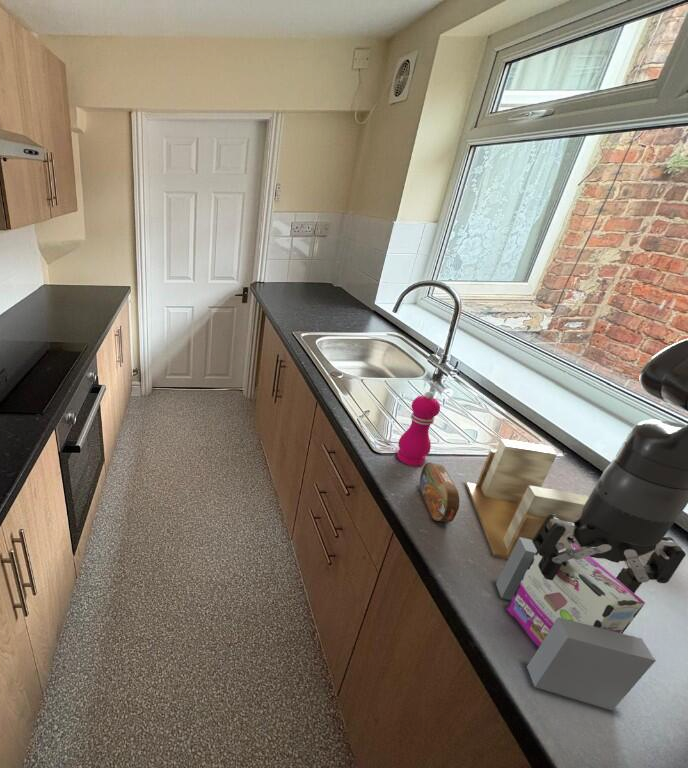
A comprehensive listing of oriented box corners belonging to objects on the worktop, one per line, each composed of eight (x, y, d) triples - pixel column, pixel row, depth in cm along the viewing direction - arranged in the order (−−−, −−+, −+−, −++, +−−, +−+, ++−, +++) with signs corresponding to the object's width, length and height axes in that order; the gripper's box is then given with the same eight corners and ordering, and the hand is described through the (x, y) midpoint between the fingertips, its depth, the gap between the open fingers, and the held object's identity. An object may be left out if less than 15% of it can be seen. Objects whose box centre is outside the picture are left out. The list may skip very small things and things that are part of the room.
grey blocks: (555, 599, 73) (585, 551, 67) (611, 711, 57) (655, 660, 52) (495, 584, 75) (519, 536, 70) (533, 688, 60) (567, 637, 55)
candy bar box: (594, 675, 62) (649, 604, 54) (562, 678, 61) (613, 606, 54) (531, 606, 72) (571, 537, 64) (504, 608, 71) (540, 539, 64)
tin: (416, 482, 100) (425, 454, 96) (430, 484, 100) (440, 456, 96) (436, 529, 87) (447, 498, 83) (453, 531, 86) (465, 501, 83)
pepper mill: (424, 471, 104) (447, 402, 95) (393, 462, 107) (411, 394, 98) (426, 456, 109) (448, 389, 100) (396, 448, 113) (414, 382, 104)
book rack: (535, 498, 95) (562, 444, 88) (582, 577, 76) (620, 516, 70) (465, 485, 99) (485, 432, 92) (493, 556, 81) (521, 497, 74)
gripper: (581, 505, 52) (532, 591, 59) (734, 534, 48) (661, 622, 55) (555, 469, 58) (514, 551, 66) (688, 491, 54) (628, 576, 61)
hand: (581, 583), depth 60 cm, fingers open, 8 cm apart
